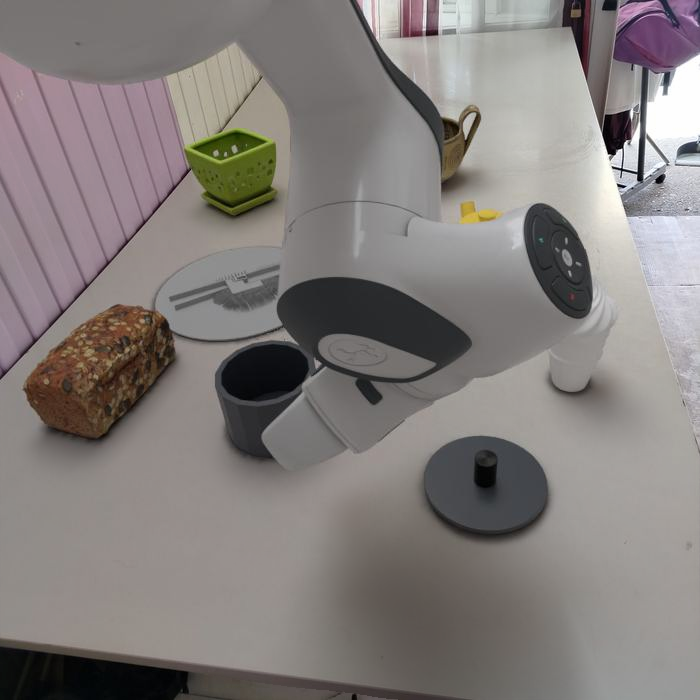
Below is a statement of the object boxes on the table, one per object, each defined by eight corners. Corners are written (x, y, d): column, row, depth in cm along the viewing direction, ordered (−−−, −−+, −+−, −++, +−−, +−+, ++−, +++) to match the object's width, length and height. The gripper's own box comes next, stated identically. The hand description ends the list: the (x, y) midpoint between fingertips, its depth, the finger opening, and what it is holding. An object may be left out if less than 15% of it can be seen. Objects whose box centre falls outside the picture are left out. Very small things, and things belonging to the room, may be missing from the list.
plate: (292, 234, 120) (291, 228, 120) (348, 307, 100) (347, 301, 99) (144, 274, 113) (142, 268, 113) (171, 362, 93) (169, 355, 92)
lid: (567, 524, 65) (572, 495, 62) (442, 548, 64) (442, 519, 61) (520, 434, 76) (523, 405, 73) (411, 453, 75) (410, 425, 72)
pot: (328, 447, 77) (320, 395, 71) (229, 465, 76) (214, 413, 71) (317, 383, 86) (309, 333, 81) (229, 398, 85) (215, 349, 80)
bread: (102, 445, 80) (74, 386, 74) (38, 427, 84) (6, 370, 78) (183, 355, 94) (165, 299, 87) (125, 344, 97) (104, 289, 91)
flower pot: (195, 204, 135) (180, 146, 127) (248, 182, 142) (237, 125, 134) (232, 223, 126) (218, 162, 118) (287, 199, 133) (277, 139, 125)
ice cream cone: (583, 413, 77) (604, 304, 67) (523, 385, 82) (534, 280, 72) (614, 376, 82) (638, 270, 72) (555, 353, 87) (569, 250, 77)
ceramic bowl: (371, 201, 129) (365, 127, 120) (373, 167, 142) (368, 99, 133) (482, 194, 127) (485, 118, 117) (473, 161, 140) (476, 91, 131)
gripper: (450, 255, 54) (366, 315, 65) (292, 394, 42) (222, 439, 53) (495, 313, 54) (404, 363, 66) (352, 467, 42) (270, 496, 53)
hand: (321, 398), depth 59 cm, fingers closed on egg, 5 cm apart
